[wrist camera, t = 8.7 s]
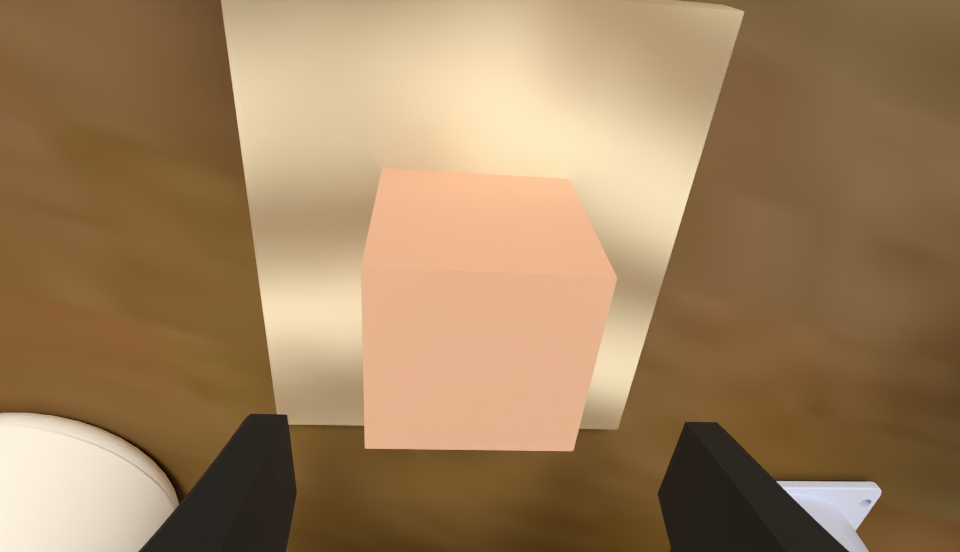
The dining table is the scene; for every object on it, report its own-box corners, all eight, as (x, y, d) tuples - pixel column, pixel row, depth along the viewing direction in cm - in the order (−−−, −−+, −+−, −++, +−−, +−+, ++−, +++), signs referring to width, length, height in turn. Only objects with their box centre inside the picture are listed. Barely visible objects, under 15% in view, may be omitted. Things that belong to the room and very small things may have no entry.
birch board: (609, 405, 22) (617, 429, 21) (286, 399, 21) (278, 424, 20) (722, 4, 15) (744, 11, 14) (232, -41, 13) (215, -37, 12)
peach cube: (541, 326, 18) (573, 451, 14) (382, 320, 18) (364, 448, 14) (568, 178, 16) (617, 278, 11) (381, 167, 15) (360, 266, 11)
